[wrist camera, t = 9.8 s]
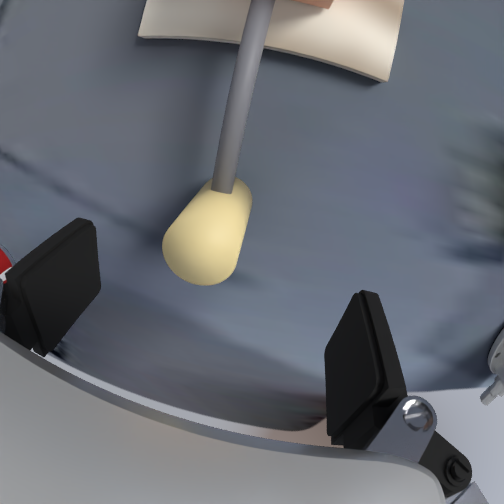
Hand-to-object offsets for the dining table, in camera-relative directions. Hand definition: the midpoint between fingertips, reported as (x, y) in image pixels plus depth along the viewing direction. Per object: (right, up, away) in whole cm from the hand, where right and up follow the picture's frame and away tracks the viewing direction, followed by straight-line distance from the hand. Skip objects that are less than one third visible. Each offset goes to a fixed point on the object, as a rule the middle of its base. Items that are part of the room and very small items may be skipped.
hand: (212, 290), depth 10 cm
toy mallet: (+2, +11, +2) cm, 11 cm away
